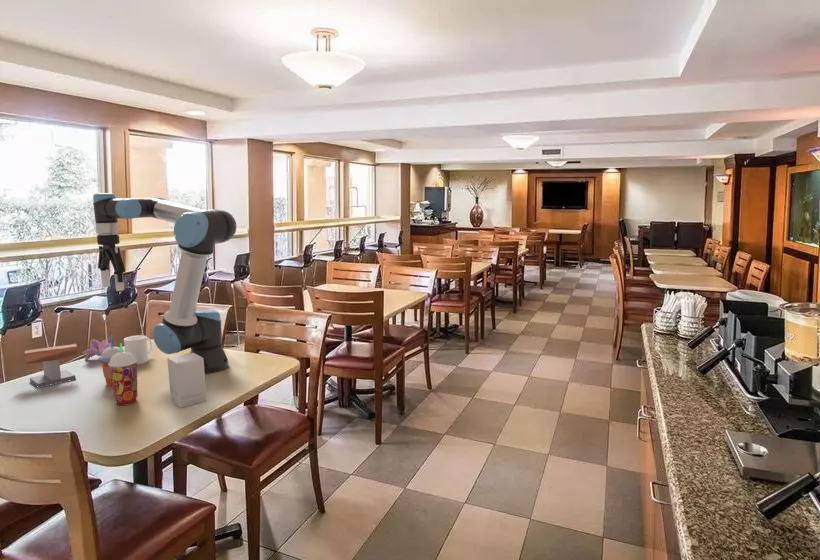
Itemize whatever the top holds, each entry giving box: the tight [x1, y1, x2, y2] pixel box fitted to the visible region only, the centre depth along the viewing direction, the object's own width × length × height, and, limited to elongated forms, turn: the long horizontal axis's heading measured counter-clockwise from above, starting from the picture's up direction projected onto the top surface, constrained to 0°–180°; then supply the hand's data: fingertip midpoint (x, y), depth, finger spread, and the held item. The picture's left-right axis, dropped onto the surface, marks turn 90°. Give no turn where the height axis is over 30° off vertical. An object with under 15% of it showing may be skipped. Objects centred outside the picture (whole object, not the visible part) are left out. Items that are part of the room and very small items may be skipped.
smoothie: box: [108, 342, 138, 406], centre depth 184 cm, size 8×8×20 cm
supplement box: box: [167, 352, 207, 408], centre depth 185 cm, size 9×9×15 cm
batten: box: [24, 343, 79, 365], centre depth 206 cm, size 4×16×4 cm, turn 123°
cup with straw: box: [98, 334, 125, 387], centre depth 202 cm, size 9×9×18 cm
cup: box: [123, 335, 153, 365], centre depth 231 cm, size 8×12×10 cm
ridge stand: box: [29, 359, 77, 388], centre depth 207 cm, size 10×12×8 cm
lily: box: [81, 337, 111, 361], centre depth 233 cm, size 12×12×10 cm
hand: (113, 288), depth 218 cm, fingers open, 13 cm apart
